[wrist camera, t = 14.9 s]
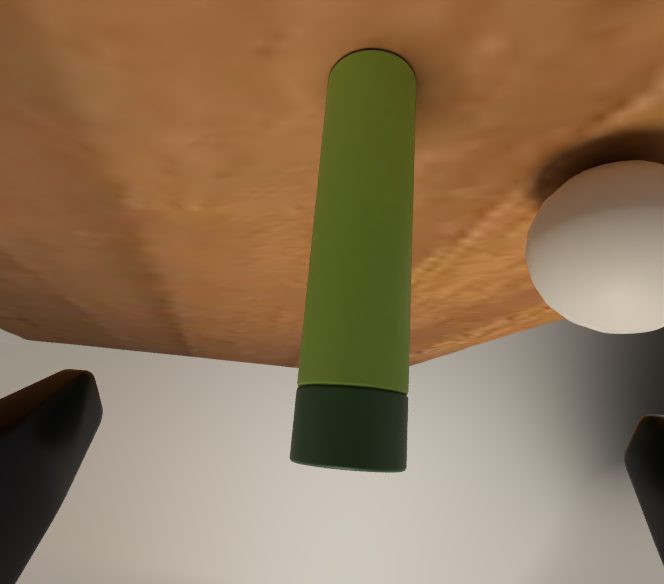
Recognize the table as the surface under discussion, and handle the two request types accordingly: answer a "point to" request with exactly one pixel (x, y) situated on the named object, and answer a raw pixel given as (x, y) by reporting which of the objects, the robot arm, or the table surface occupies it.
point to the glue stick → (360, 273)
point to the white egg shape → (603, 248)
